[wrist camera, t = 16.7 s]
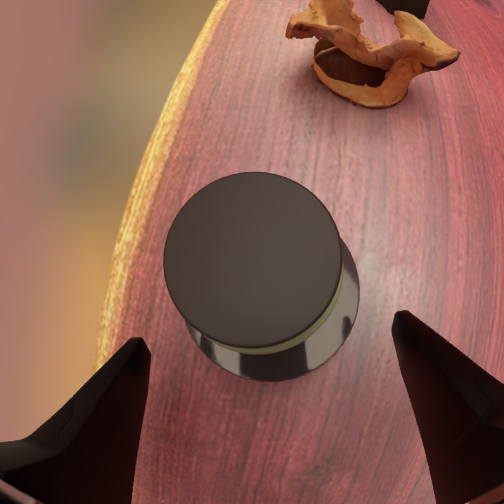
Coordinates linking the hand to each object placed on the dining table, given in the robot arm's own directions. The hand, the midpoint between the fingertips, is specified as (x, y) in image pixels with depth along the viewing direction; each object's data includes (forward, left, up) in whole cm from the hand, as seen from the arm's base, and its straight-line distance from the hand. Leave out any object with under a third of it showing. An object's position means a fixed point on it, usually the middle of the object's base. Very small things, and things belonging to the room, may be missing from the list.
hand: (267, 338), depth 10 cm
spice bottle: (+2, +1, -4) cm, 5 cm away
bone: (+19, +5, -7) cm, 21 cm away
